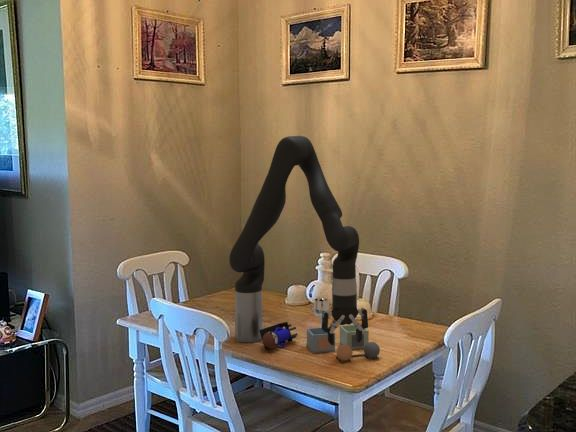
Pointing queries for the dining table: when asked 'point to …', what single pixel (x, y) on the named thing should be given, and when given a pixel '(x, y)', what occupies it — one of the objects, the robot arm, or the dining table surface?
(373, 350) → the ball charcoal
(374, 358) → the dark brown flat frame
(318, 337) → the grey storage bin
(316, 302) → the wineglass
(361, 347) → the green storage bin
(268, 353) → the dining table surface
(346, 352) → the ball terracotta
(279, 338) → the character figurine
